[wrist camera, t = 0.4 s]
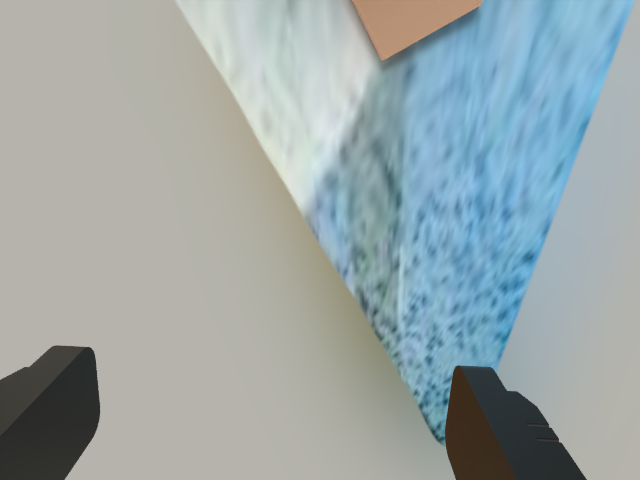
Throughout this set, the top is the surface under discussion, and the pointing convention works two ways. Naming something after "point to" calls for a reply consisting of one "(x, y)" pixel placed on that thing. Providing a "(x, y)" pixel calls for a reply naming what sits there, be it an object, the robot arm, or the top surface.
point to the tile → (407, 20)
